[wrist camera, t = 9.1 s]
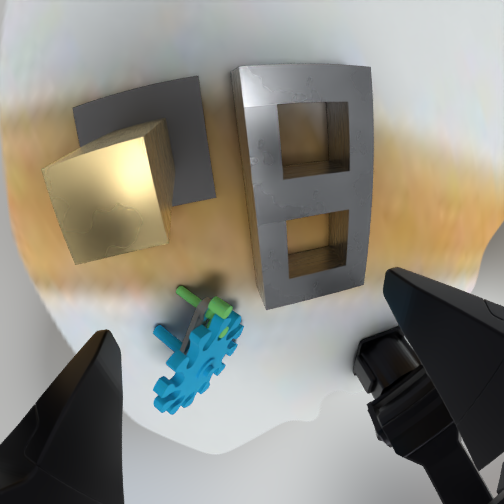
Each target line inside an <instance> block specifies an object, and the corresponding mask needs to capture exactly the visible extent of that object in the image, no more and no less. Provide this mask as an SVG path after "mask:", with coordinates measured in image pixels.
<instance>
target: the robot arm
mask: <svg viewBox="0 0 504 504" xmlns="http://www.w3.org/2000/svg"><path fill="white" fill-rule="evenodd" d="M383 294H384V297H385V299H386V301H387V303H388V305H389V307H390V309H391V311H392V312H393V314H394V316H395V318H396V320H397V322H398V324H399V327H397V328H394V329H391V330H389V331H386V332H384V333H381V334H378V335H375V336H373V337H370V338H367V339H364V340H362V341H361V342H360V344H359V348H358V353H357V357H356V360H355V365H354V369H353V374H354V375H357V377H358V378H359V380H360V382H361V384H362V385H363V387H364V389H365V391H366V392H367V393H372V395H373V397H374V398H375V400H373V401H372V402H369V403H368V404H367V406H368V412H369V414H370V416H371V419H372V421H373V424H374V426H375V431H376V435H377V438H378V440H380V441H384V442H385V443H386V444H387V445H388V446H389V447H393V449H394V450H395V453H396V454H398V455H400V456H402V457H404V458H406V459H408V460H411V461H413V462H415V463H417V464H420V465H422V466H423V467H424V469H425V470H426V472H427V474H428V476H429V478H430V480H431V482H432V484H433V486H434V487H435V489H436V491H437V493H438V495H439V497H440V499H441V501H442V503H443V504H504V462H503V465H502V470H501V475H500V480H499V484H498V488H497V493H498V495H497V496H496V497H495V498H493V496H492V494H491V493H490V491H489V489H488V487H487V485H486V484H485V482H484V480H483V478H482V476H481V475H480V473H479V471H480V470H481V469H482V468H484V467H485V466H486V465H488V464H489V463H490V462H492V461H493V460H494V459H496V458H497V457H498V456H499V455H500V454H502V453H503V452H504V307H503V306H501V305H498V304H495V303H493V302H490V301H488V300H485V299H484V300H483V299H482V298H480V297H478V296H475V295H472V294H470V293H467V292H465V291H462V290H459V289H457V288H454V287H451V286H449V285H446V284H443V283H441V282H438V281H435V280H433V279H430V278H427V277H424V276H422V275H419V274H416V273H413V272H411V271H408V270H405V269H402V268H399V267H395V268H391V269H388V270H387V271H386V274H385V280H384V286H383ZM404 335H405V337H406V339H407V340H408V342H409V343H410V345H411V346H410V345H409V343H408V342H407V341H406V340H405V338H404ZM412 348H413V349H412ZM122 408H123V387H122V367H121V351H120V348H119V346H118V344H117V342H116V340H115V339H114V337H113V335H112V333H111V332H110V331H109V330H107V329H106V330H100V331H97V332H96V333H95V334H94V335H93V336H92V337H91V338H90V339H89V340H88V341H87V343H86V344H85V345H84V346H83V347H82V348H81V349H80V351H79V352H78V353H77V354H76V355H75V356H74V358H73V359H72V360H71V361H70V362H69V363H68V364H67V366H66V367H65V368H64V369H63V370H62V372H61V373H60V374H59V375H58V376H57V377H56V379H55V380H54V381H53V382H52V383H51V385H50V386H49V387H48V388H47V390H46V391H45V392H44V393H43V394H42V396H41V397H40V398H39V399H38V401H37V402H36V405H34V406H33V407H32V408H31V409H30V411H29V412H28V413H27V414H26V416H25V417H24V418H23V419H22V420H21V422H20V423H19V424H18V426H16V428H15V429H14V430H13V431H12V432H11V433H10V434H9V436H8V437H7V438H6V439H5V440H4V441H3V442H2V444H0V504H124V494H123V475H122ZM461 437H462V439H463V441H464V443H465V445H466V447H467V449H468V451H469V453H470V455H471V457H472V460H473V461H472V460H471V458H470V456H469V455H468V453H467V451H466V450H465V448H464V446H463V445H462V443H461ZM473 462H474V463H473ZM474 464H475V465H474Z"/></svg>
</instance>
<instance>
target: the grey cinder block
mask: <svg viewBox="0 0 504 504" xmlns="http://www.w3.org/2000/svg"><path fill="white" fill-rule="evenodd" d="M231 79H232V87H233V96H234V104H235V112H236V120H237V128H238V136H239V145H240V153H241V161H242V169H243V177H244V186H245V194H246V202H247V210H248V218H249V227H250V235H251V243H252V251H253V260H254V268H255V276H256V284H257V288H258V291H259V293H260V296H261V298H262V301H263V303H264V306H265V308H266V310H268V309H273V308H277V307H281V306H285V305H289V304H293V303H297V302H301V301H305V300H309V299H313V298H317V297H321V296H325V295H328V294H332V293H336V292H340V291H343V290H347V289H350V288H354V287H357V286H361V285H364V278H365V270H366V262H367V253H368V243H369V233H370V221H371V207H372V189H373V157H374V126H373V95H372V78H371V67H366V66H354V65H339V64H269V65H253V66H241V67H238V68H236V69H234V70H233V71H231ZM303 102H326V107H327V124H328V146H329V161H319V162H311V163H302V164H294V165H287V166H282V156H281V144H280V132H279V121H278V110H277V104H286V103H303ZM325 213H329V246H327V247H323V248H318V249H313V250H309V251H304V252H299V253H295V254H290V255H288V247H287V229H286V220H291V219H297V218H302V217H308V216H313V215H319V214H325Z"/></svg>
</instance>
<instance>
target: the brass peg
mask: <svg viewBox="0 0 504 504" xmlns="http://www.w3.org/2000/svg"><path fill="white" fill-rule="evenodd" d="M175 171H176V170H175V165H174V160H173V155H172V149H171V144H170V139H169V134H168V128H167V123H166V118H162V119H158V120H154V121H150V122H146V123H142V124H138V125H134V126H130V127H127V128H123V129H120V130H116V131H113V132H111V133H108V134H106V135H104V136H102V137H100V138H98V139H96V140H94V141H92V142H90V143H88V144H86V145H84V146H82V147H80V148H79V149H77V150H75V151H73V152H71V153H69V154H67V155H66V156H64V157H62V158H60V159H59V160H57V161H55V162H53V163H52V164H50V165H48V166H47V167H45V168H43V169H42V173H43V176H44V180H45V183H46V186H47V190H48V193H49V196H50V199H51V202H52V205H53V208H54V211H55V214H56V217H57V219H58V222H59V225H60V228H61V230H62V233H63V235H64V238H65V241H66V243H67V246H68V248H69V250H70V253H71V255H72V258H73V260H74V262H75V265H78V264H82V263H86V262H90V261H94V260H98V259H102V258H107V257H111V256H115V255H119V254H124V253H128V252H132V251H137V250H141V249H145V248H150V247H154V246H159V245H163V244H168V243H169V235H170V222H171V210H172V199H173V189H174V180H175Z"/></svg>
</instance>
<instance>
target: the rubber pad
mask: <svg viewBox="0 0 504 504" xmlns="http://www.w3.org/2000/svg"><path fill="white" fill-rule="evenodd" d="M73 113H74V119H75V124H76V129H77V134H78V139H79V143H80V147H82V146H84V145H86V144H88V143H90V142H92V141H94V140H96V139H98V138H100V137H102V136H104V135H106V134H108V133H111V132H113V131H116V130H120V129H123V128H127V127H130V126H134V125H138V124H142V123H146V122H150V121H154V120H158V119H162V118H166V123H167V128H168V134H169V139H170V144H171V149H172V155H173V160H174V165H175V170H176V171H175V180H174V189H173V199H172V206H177V205H182V204H187V203H191V202H196V201H201V200H207V199H212V198H216V193H215V187H214V181H213V174H212V168H211V161H210V155H209V148H208V142H207V135H206V128H205V121H204V114H203V107H202V100H201V93H200V85H199V78H198V76H193V77H187V78H182V79H176V80H171V81H166V82H161V83H157V84H152V85H148V86H144V87H140V88H136V89H132V90H128V91H124V92H121V93H117V94H114V95H110V96H107V97H104V98H100V99H97V100H94V101H91V102H88V103H85V104H82V105H79V106H77V107H74V108H73Z"/></svg>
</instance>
